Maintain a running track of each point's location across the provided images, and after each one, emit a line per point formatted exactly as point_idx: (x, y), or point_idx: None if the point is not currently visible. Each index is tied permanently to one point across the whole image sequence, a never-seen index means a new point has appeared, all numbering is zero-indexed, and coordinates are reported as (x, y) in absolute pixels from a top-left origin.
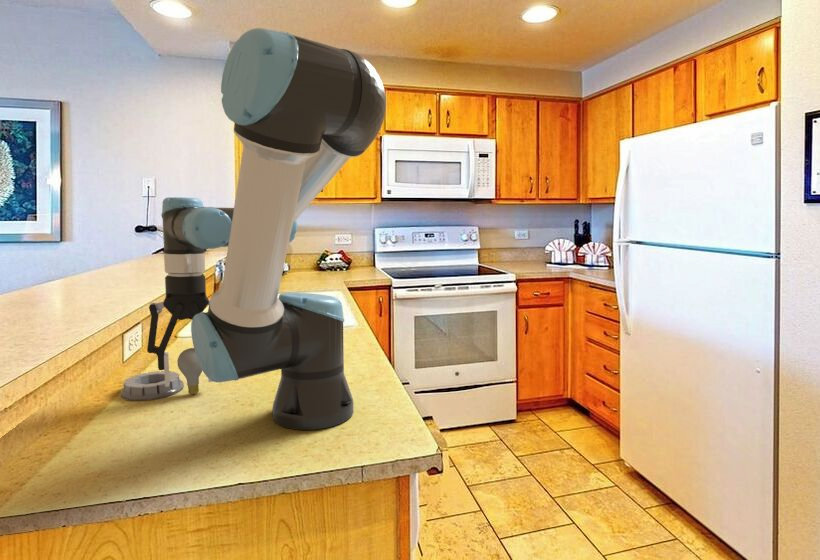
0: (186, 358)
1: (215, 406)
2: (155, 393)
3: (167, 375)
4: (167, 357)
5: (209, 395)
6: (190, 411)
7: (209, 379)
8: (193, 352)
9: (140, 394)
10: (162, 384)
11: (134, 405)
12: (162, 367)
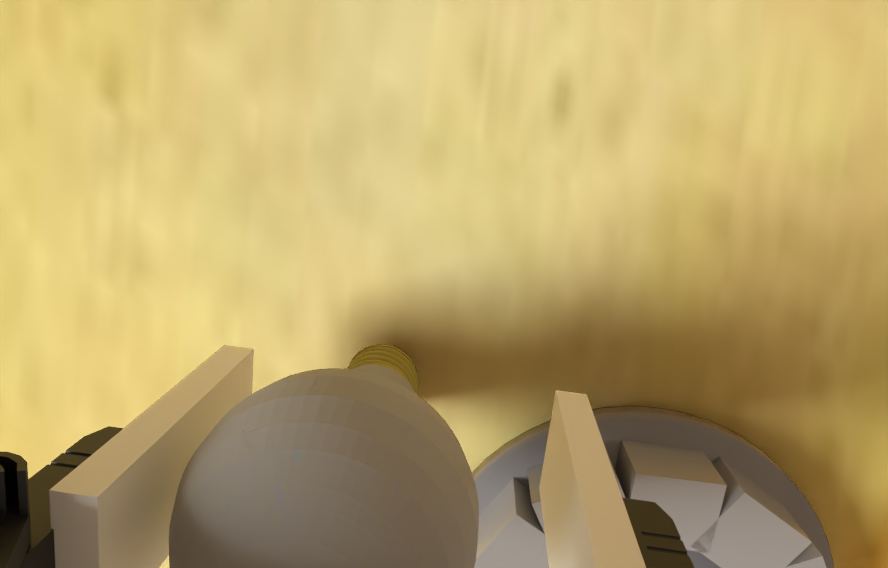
0: (380, 456)
1: (269, 45)
2: (634, 445)
3: (577, 438)
4: (599, 554)
5: (288, 300)
6: (444, 34)
7: (239, 357)
8: (273, 517)
9: (732, 468)
10: None
11: (771, 362)
12: (630, 515)
